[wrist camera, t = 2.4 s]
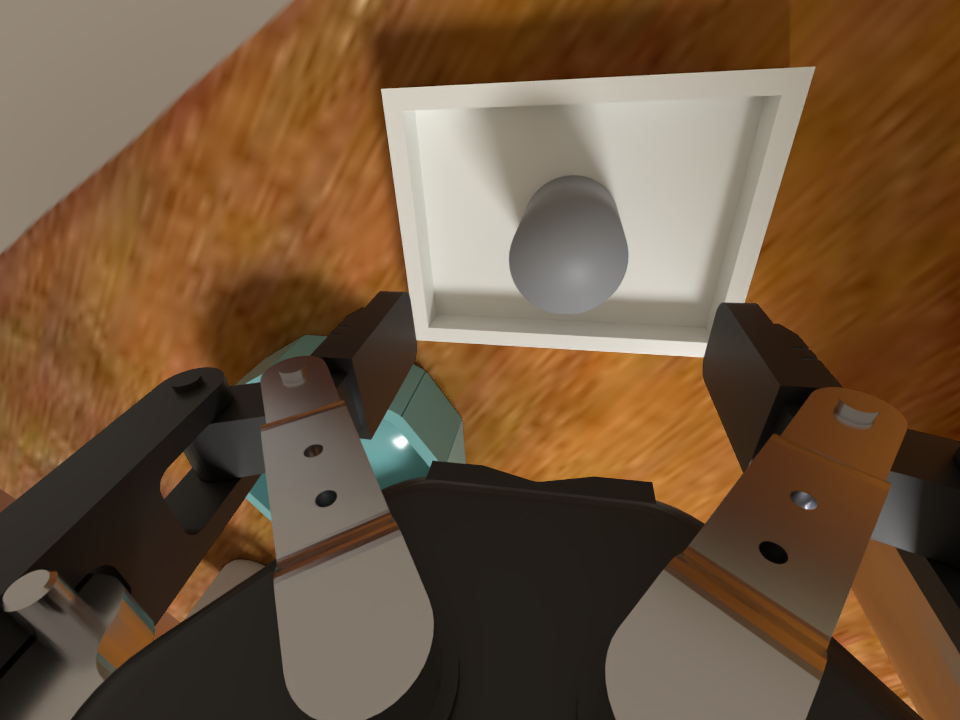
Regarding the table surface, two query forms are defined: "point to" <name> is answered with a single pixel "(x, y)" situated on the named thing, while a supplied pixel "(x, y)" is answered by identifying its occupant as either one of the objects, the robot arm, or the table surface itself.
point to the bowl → (388, 427)
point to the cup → (227, 581)
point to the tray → (614, 164)
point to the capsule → (569, 247)
